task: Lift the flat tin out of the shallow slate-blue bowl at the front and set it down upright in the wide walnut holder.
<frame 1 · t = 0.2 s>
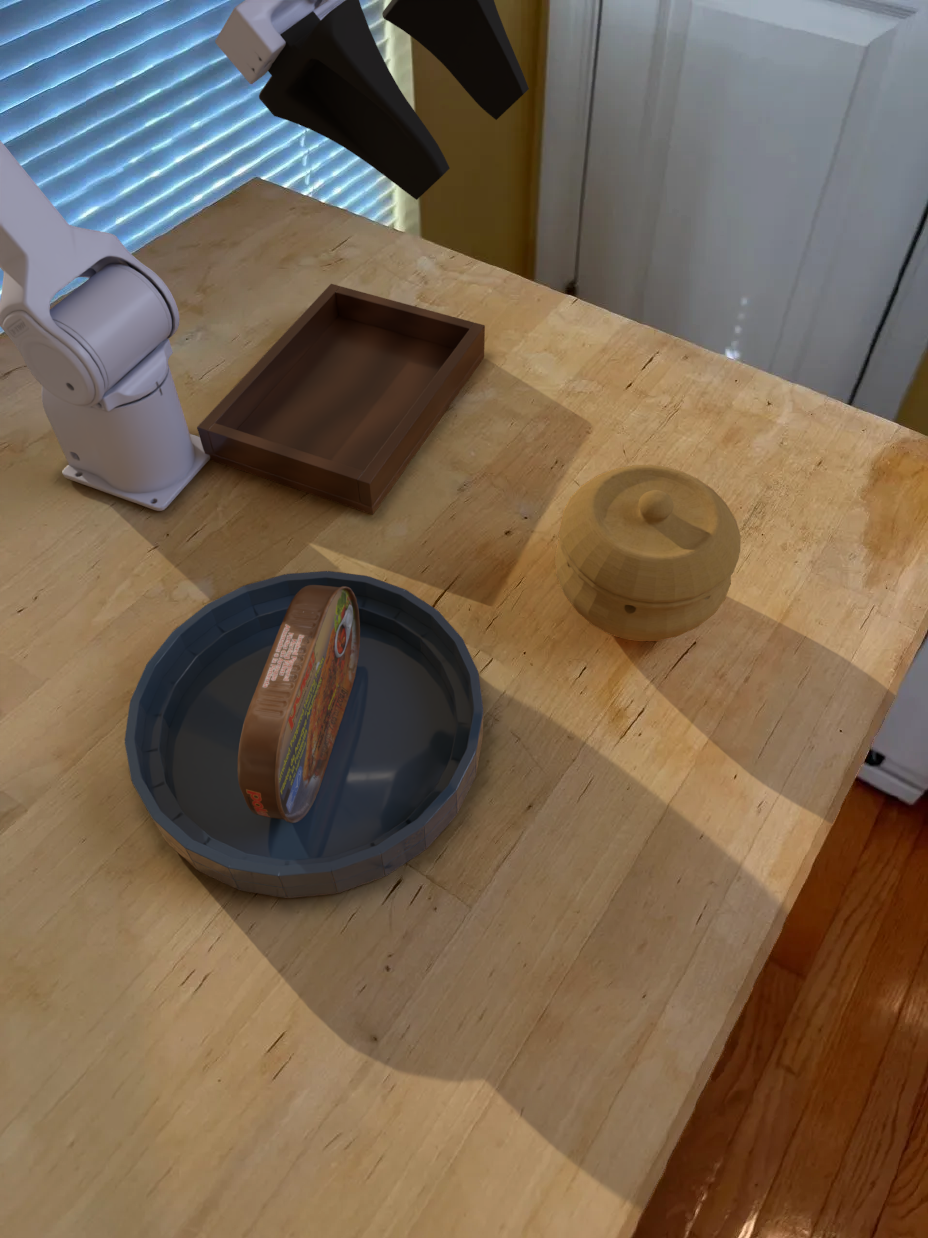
hand: (474, 142, 42), 31 cm above the table, tool tilted 45°, fingers open, 7 cm apart
pot: (634, 599, 66), on the table
tin: (313, 734, 59), resting on bowl
bowl: (313, 735, 59), on the table
holder: (352, 405, 79), on the table
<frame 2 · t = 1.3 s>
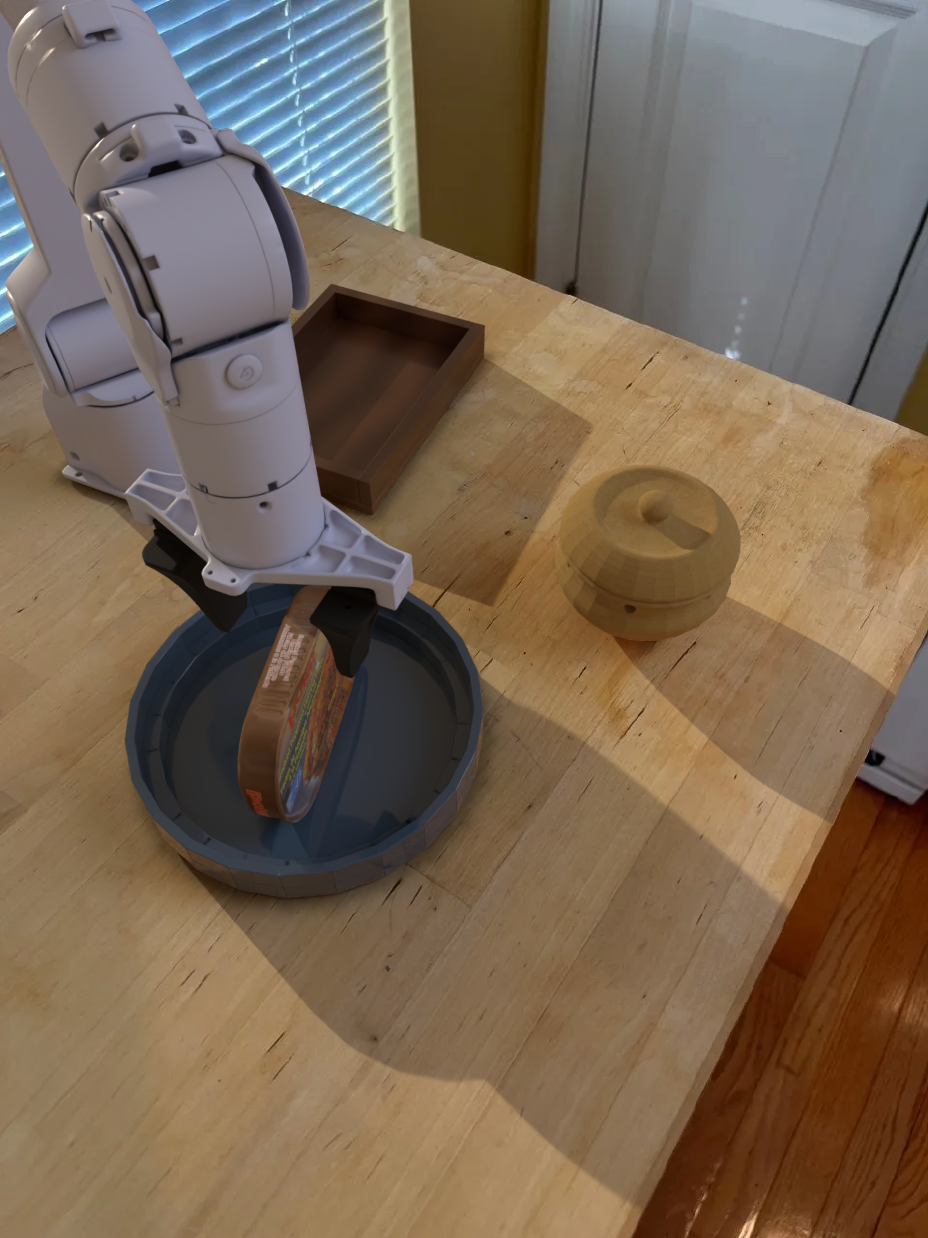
hand: (293, 640, 51), 10 cm above the table, tool pointing down, fingers open, 7 cm apart
nothing on the table moved.
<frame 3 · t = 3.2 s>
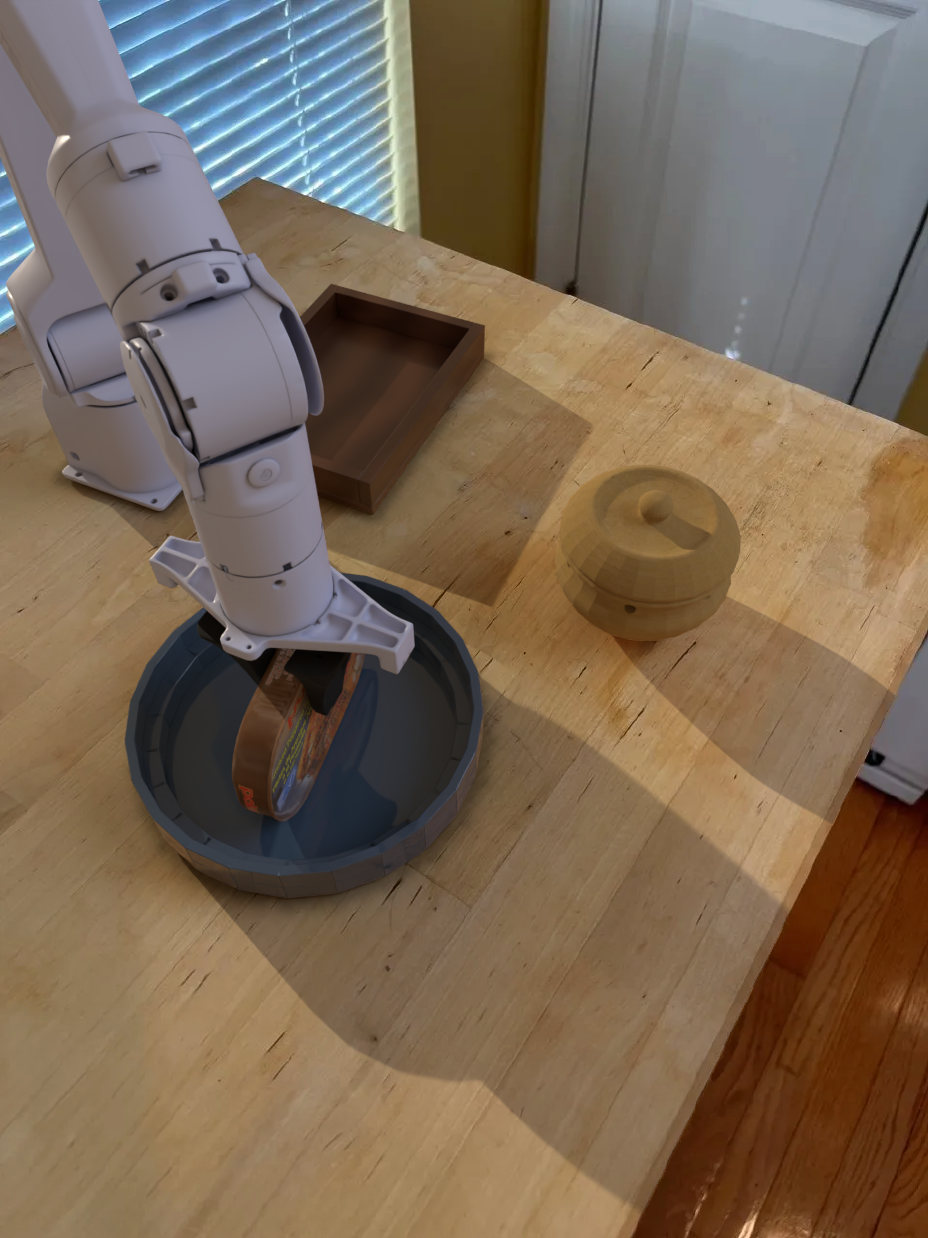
hand: (302, 690, 55), 5 cm above the table, tool pointing down, fingers closed on tin, 3 cm apart
tin: (311, 732, 59), resting on bowl, touching gripper
everything else where it was.
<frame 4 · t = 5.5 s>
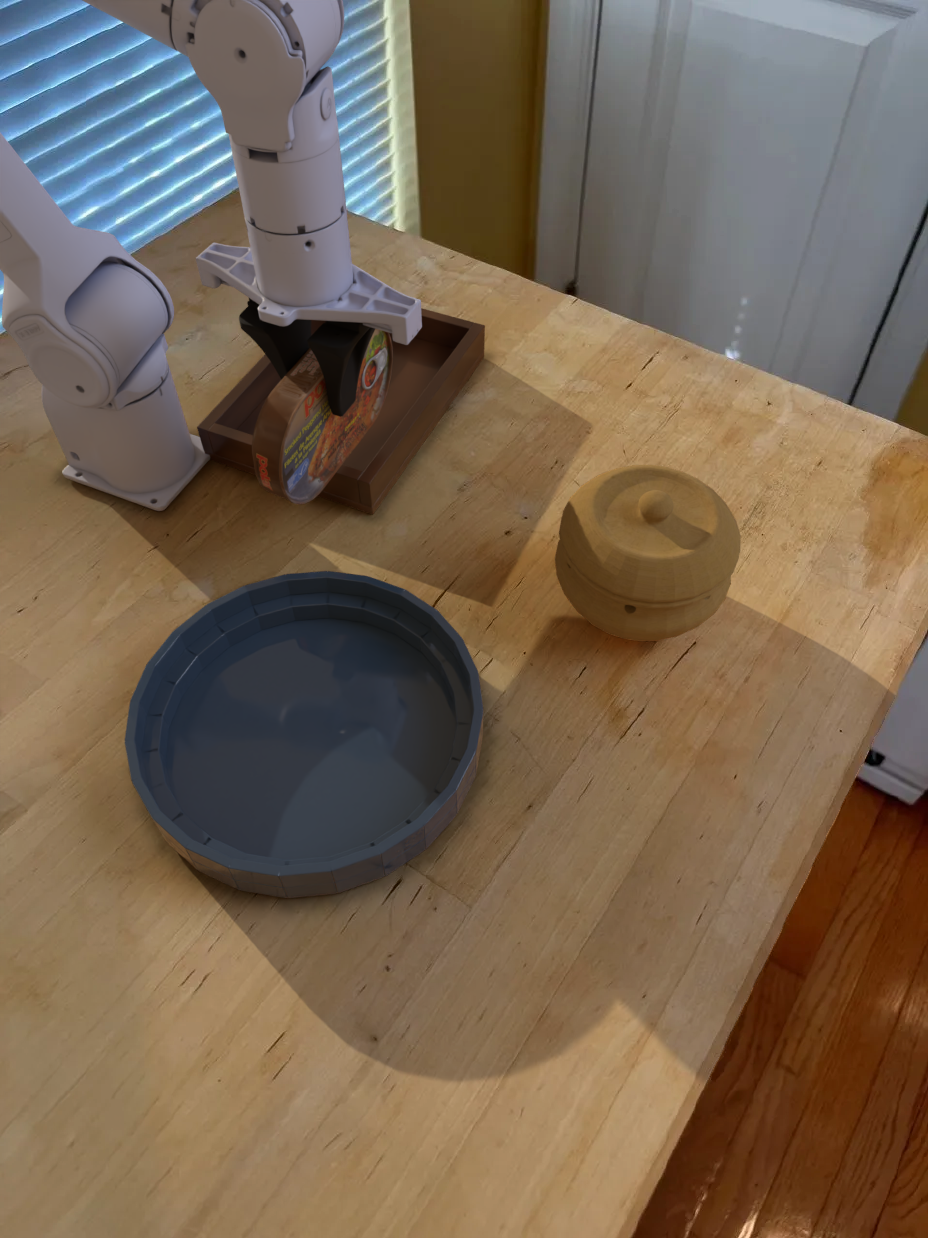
hand: (323, 400, 63), 10 cm above the table, tool pointing down, fingers closed on tin, 2 cm apart
tin: (328, 453, 68), point 5 cm above the table, touching gripper
everything else where it was.
when the fingers open (6 cm above the table, at t = 8.1 s): tin stays where it is, resting on holder.
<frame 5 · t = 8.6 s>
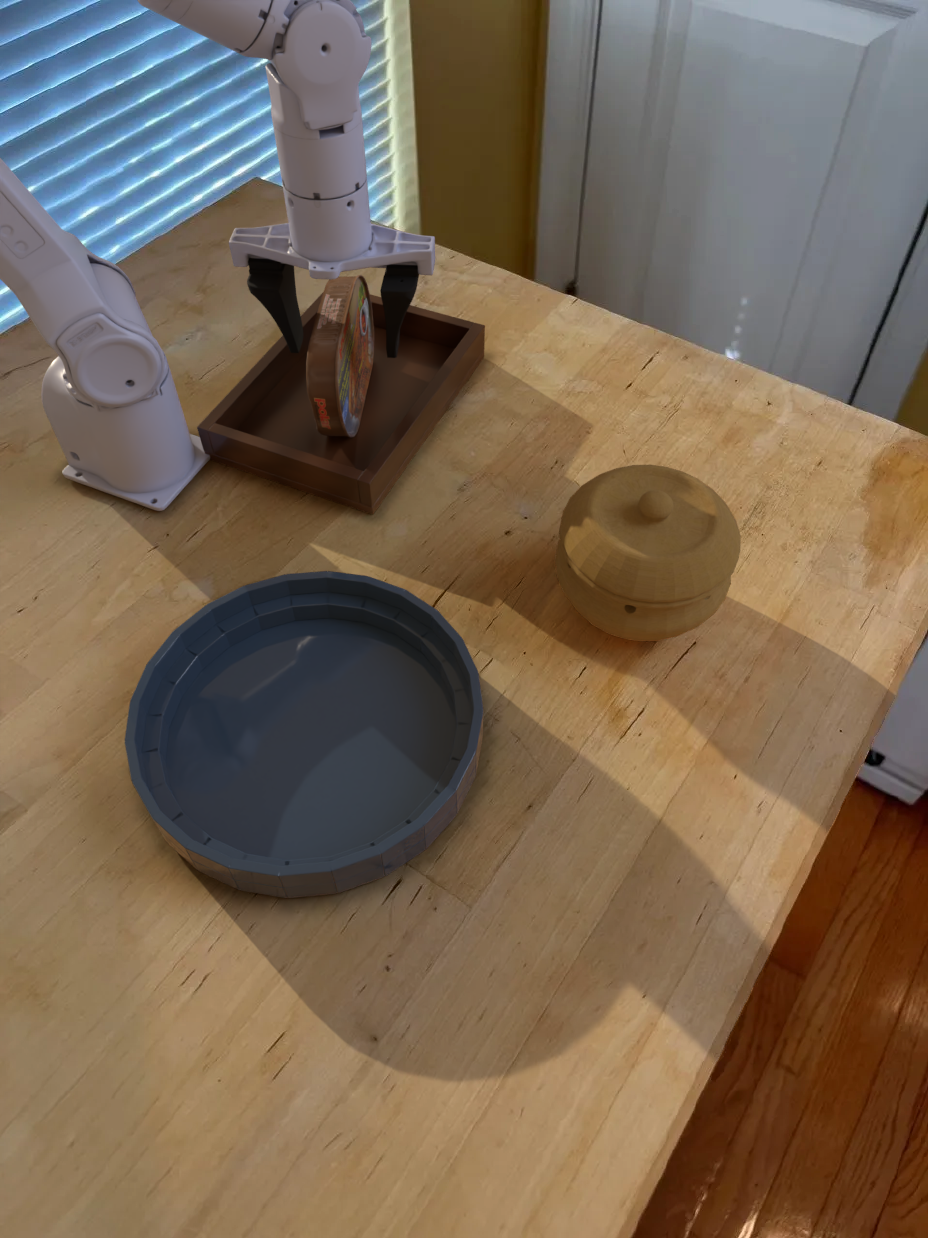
hand: (345, 347, 74), 6 cm above the table, tool pointing down, fingers open, 7 cm apart
tin: (347, 398, 78), point 1 cm above the table, touching holder
everything else where it was.
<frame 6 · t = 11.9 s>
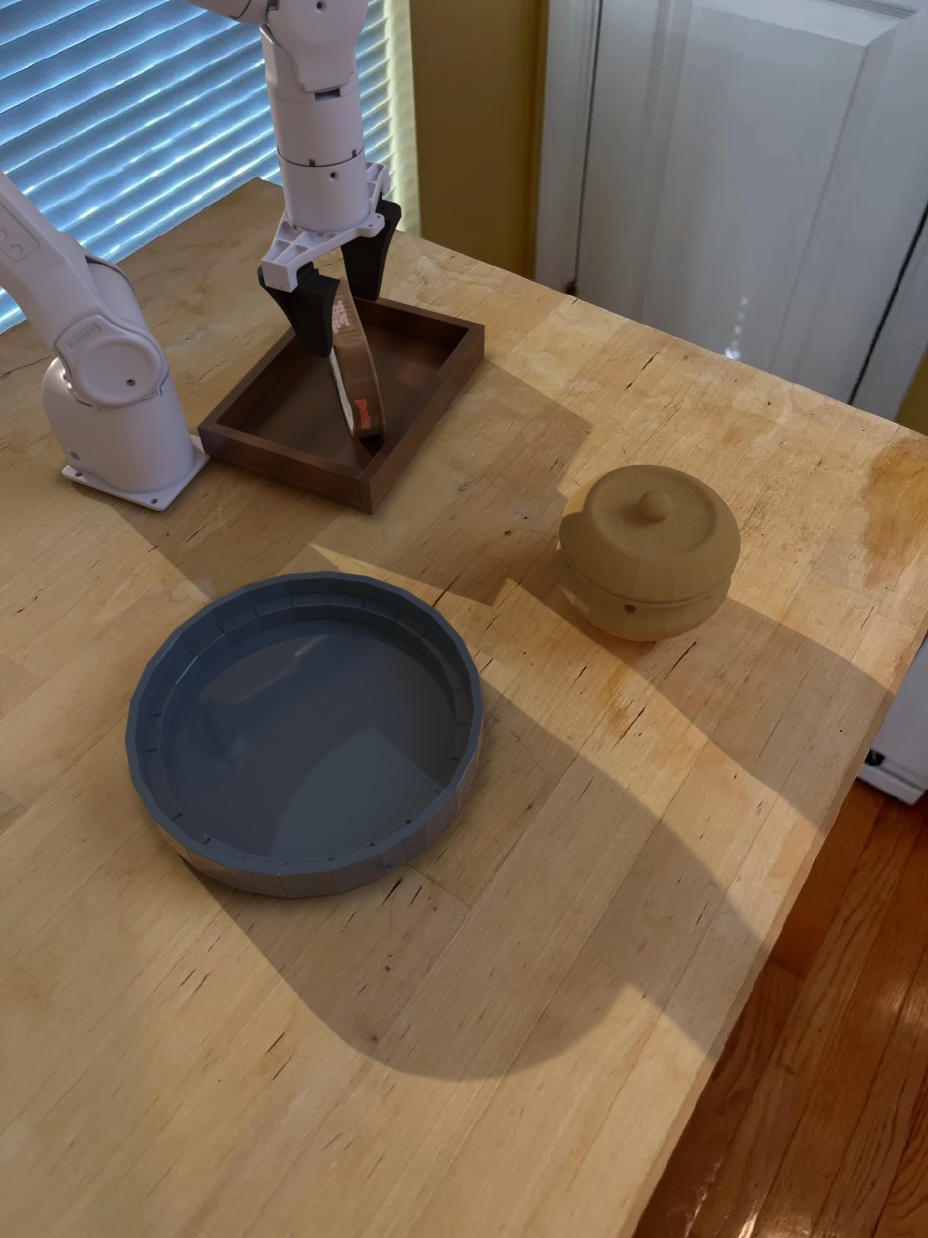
hand: (342, 323, 72), 8 cm above the table, tool pointing down
tin: (352, 400, 78), point 1 cm above the table, touching gripper, holder
everything else where it was.
when the fingers open (9 cm above the table, at t = 13.2 s): tin stays where it is, resting on holder.
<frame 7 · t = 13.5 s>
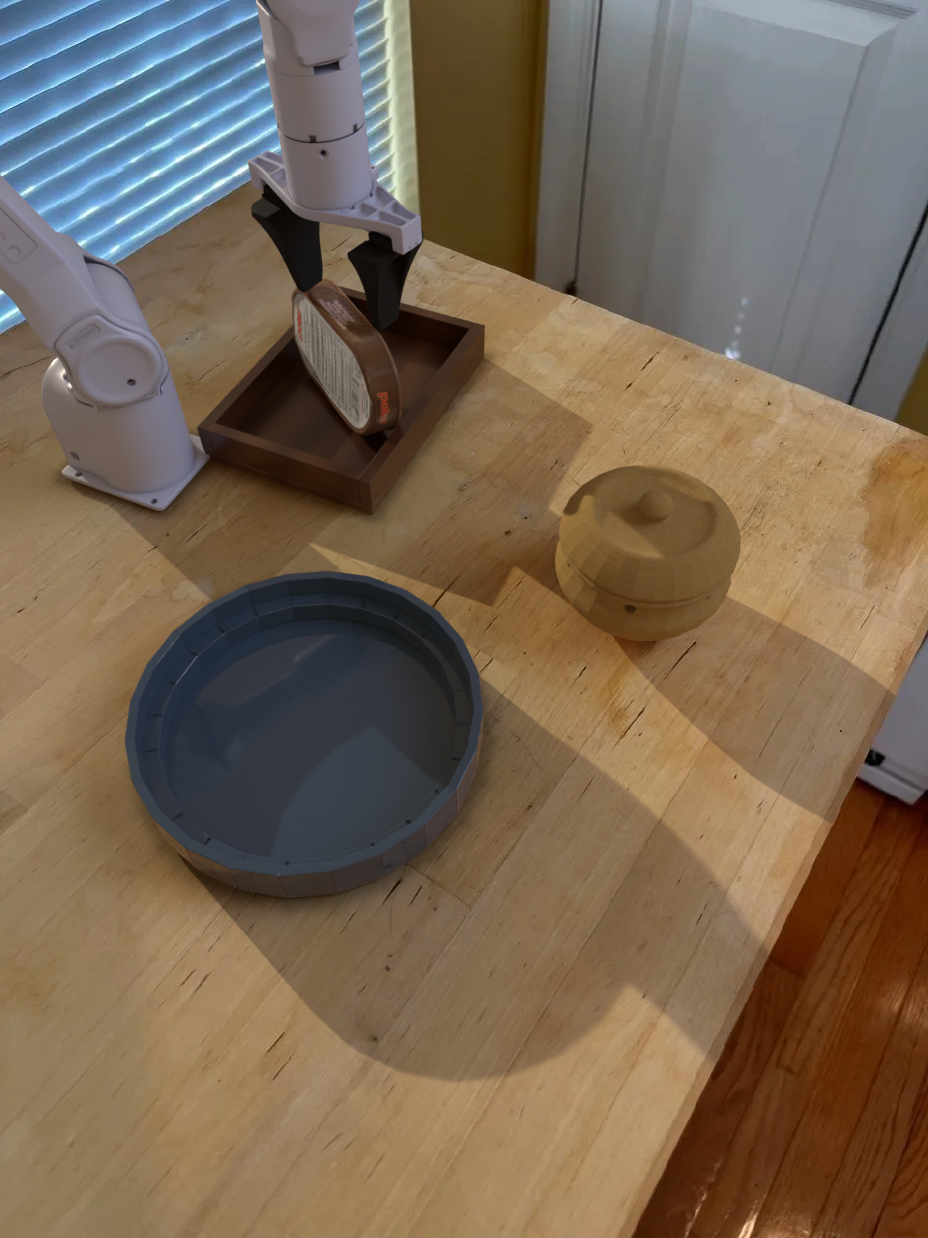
hand: (347, 303, 71), 9 cm above the table, tool pointing down, fingers open, 7 cm apart
tin: (340, 403, 77), point 1 cm above the table, touching gripper, holder
everything else where it was.
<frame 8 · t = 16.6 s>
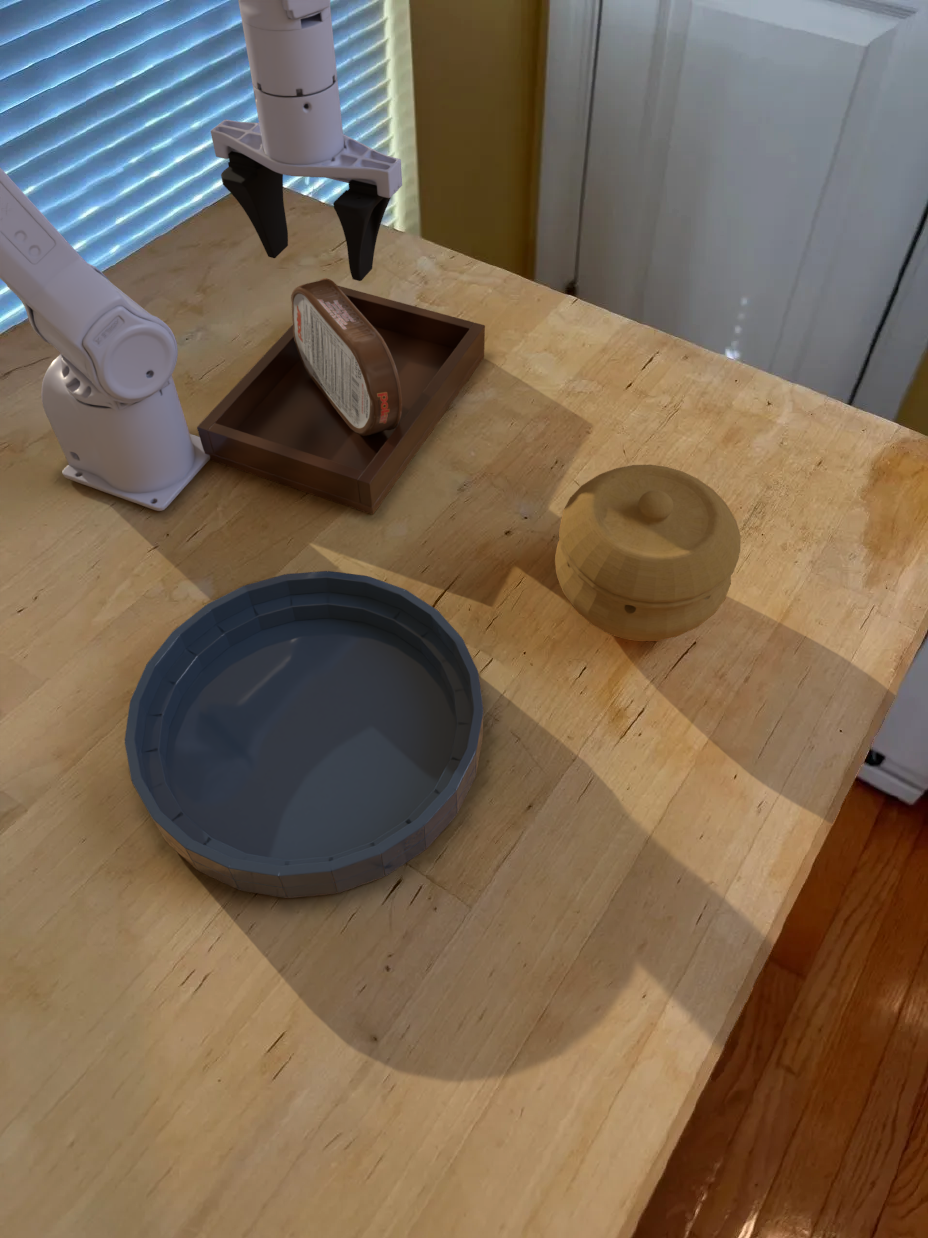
hand: (319, 262, 74), 10 cm above the table, tool pointing down, fingers open, 7 cm apart
tin: (340, 403, 77), point 1 cm above the table, touching holder
everything else where it was.
at the end: tin inside the target area in the holder (1.1 cm from its centre), point 0.9 cm above the holder's base; tin tilted 9°; tin moved 31.0 cm from its start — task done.
